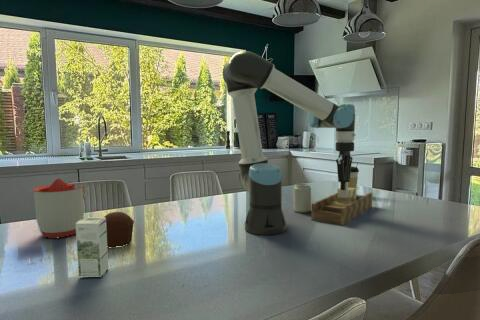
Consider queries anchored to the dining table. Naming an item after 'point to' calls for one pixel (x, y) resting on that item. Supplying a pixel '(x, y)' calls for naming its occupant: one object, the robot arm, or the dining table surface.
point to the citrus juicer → (58, 208)
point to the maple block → (349, 199)
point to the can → (302, 198)
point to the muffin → (118, 229)
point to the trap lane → (340, 209)
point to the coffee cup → (353, 177)
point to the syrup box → (92, 246)
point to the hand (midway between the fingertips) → (343, 197)
